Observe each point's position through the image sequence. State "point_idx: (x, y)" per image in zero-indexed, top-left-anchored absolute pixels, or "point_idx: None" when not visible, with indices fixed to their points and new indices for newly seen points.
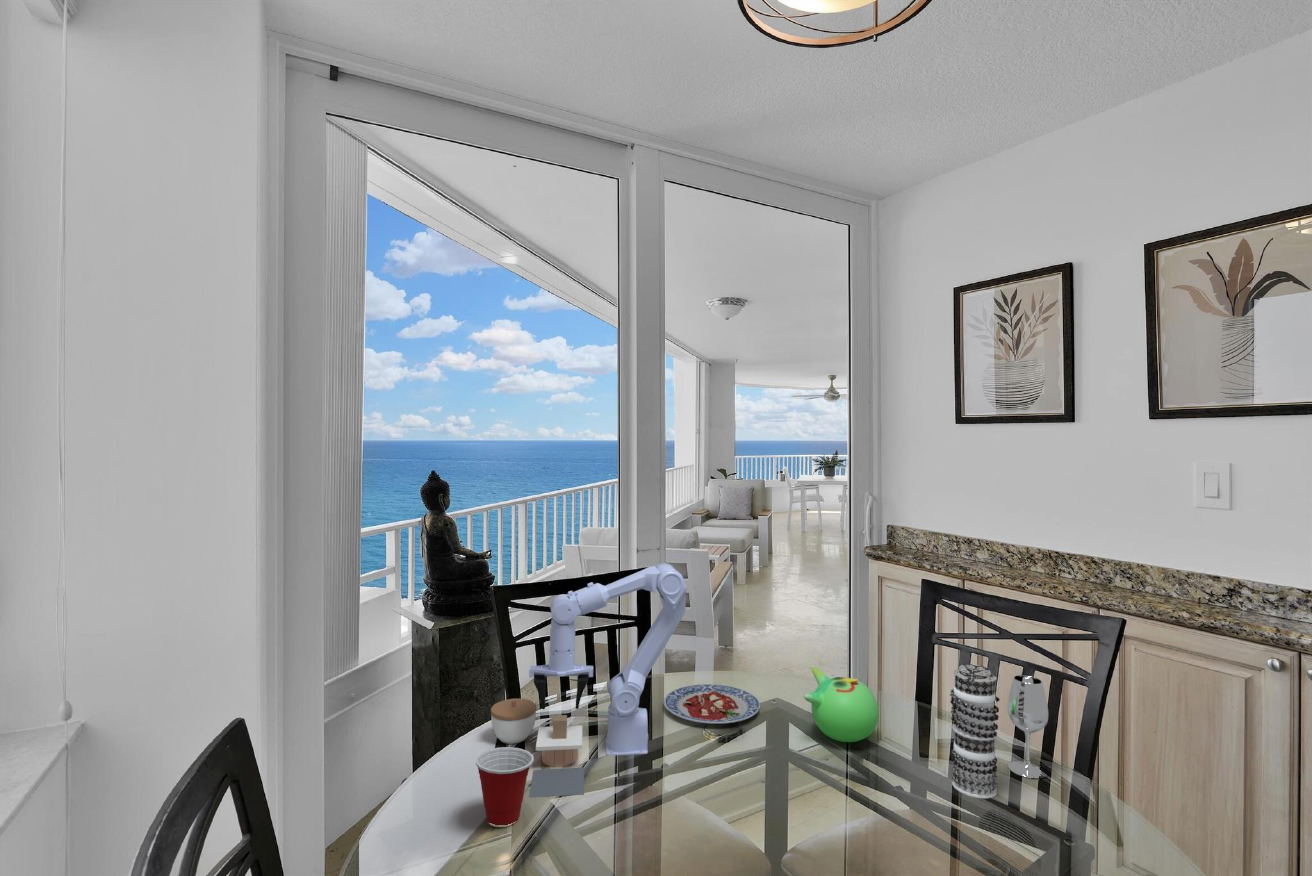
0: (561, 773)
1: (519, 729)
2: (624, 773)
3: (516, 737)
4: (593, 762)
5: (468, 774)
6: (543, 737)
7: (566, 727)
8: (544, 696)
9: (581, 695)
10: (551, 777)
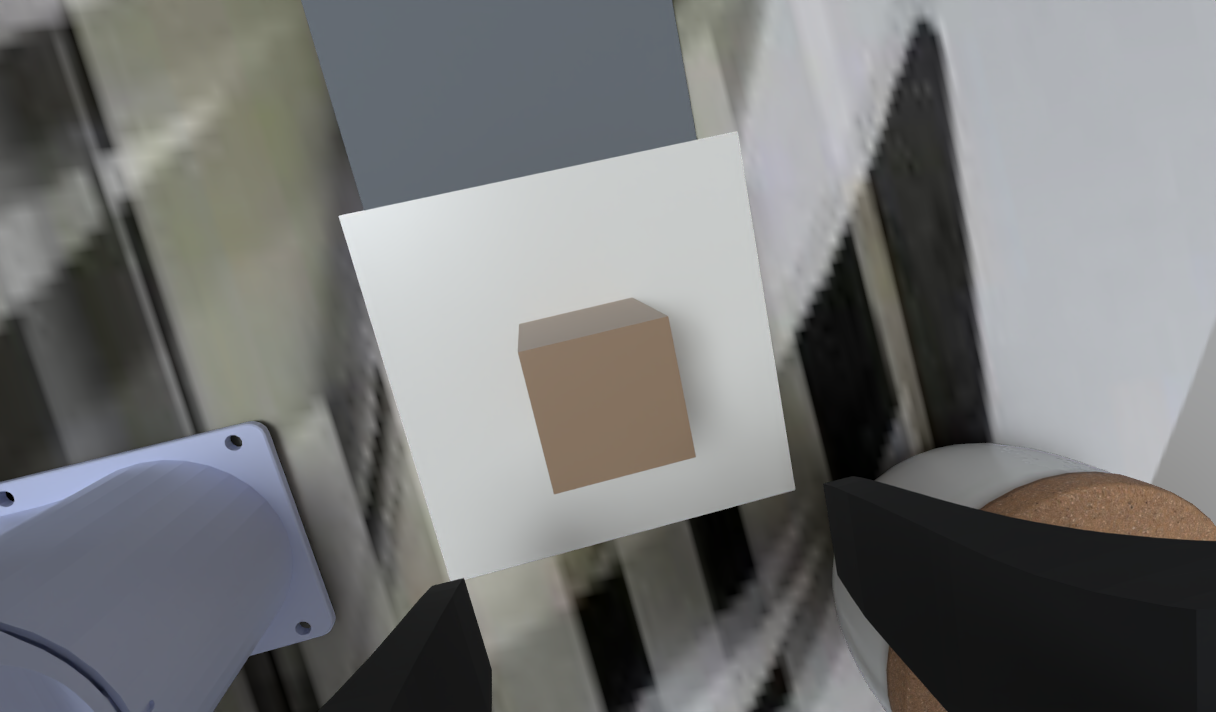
0: (503, 130)
1: (926, 480)
2: (57, 205)
3: (909, 461)
4: (336, 329)
5: (1062, 82)
6: (717, 315)
7: (518, 340)
8: (925, 569)
9: (326, 707)
10: (555, 68)
